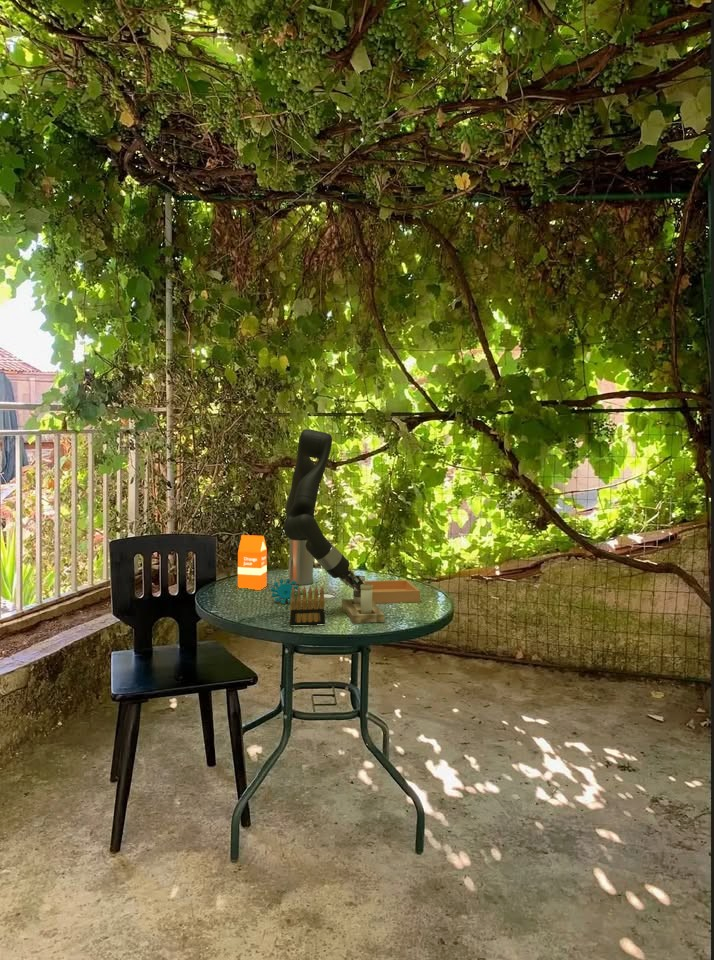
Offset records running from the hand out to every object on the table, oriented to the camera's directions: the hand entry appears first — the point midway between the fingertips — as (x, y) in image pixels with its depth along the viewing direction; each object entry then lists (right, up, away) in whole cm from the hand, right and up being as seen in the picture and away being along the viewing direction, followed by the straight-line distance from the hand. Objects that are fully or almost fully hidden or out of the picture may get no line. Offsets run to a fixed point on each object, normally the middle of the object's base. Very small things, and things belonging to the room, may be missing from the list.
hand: (363, 593), depth 234 cm
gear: (-26, -4, +8) cm, 28 cm away
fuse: (+1, -6, -13) cm, 15 cm away
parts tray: (+9, -4, +17) cm, 20 cm away
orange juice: (-41, -3, +28) cm, 50 cm away
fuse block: (-1, -6, -7) cm, 9 cm away
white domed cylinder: (-2, -5, -1) cm, 5 cm away
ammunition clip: (-17, -6, -21) cm, 28 cm away
